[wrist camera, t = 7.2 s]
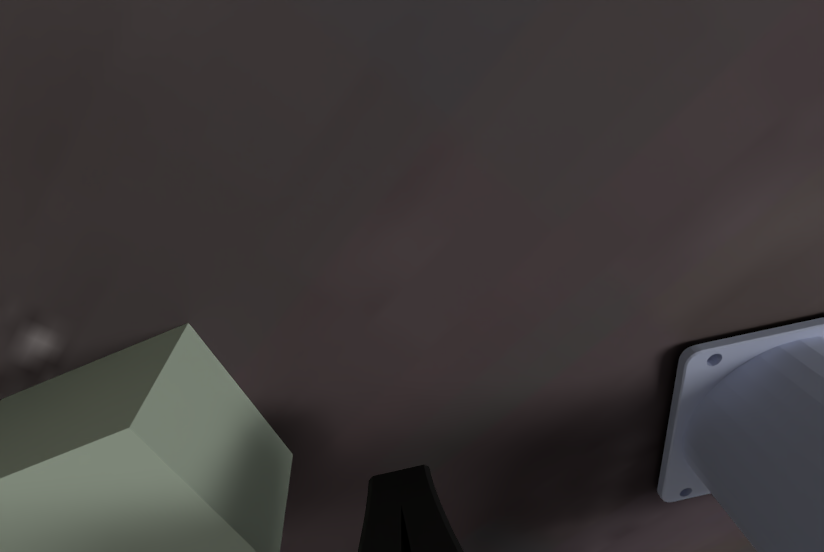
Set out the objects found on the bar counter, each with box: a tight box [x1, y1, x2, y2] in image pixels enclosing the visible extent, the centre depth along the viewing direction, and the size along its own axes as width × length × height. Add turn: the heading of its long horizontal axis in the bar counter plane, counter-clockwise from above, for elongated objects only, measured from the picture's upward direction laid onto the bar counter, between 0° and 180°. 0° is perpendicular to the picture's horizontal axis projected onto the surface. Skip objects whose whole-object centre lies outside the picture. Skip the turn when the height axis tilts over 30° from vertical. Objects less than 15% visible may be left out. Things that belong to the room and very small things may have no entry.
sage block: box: [0, 323, 293, 552], centre depth 12 cm, size 6×6×4 cm
